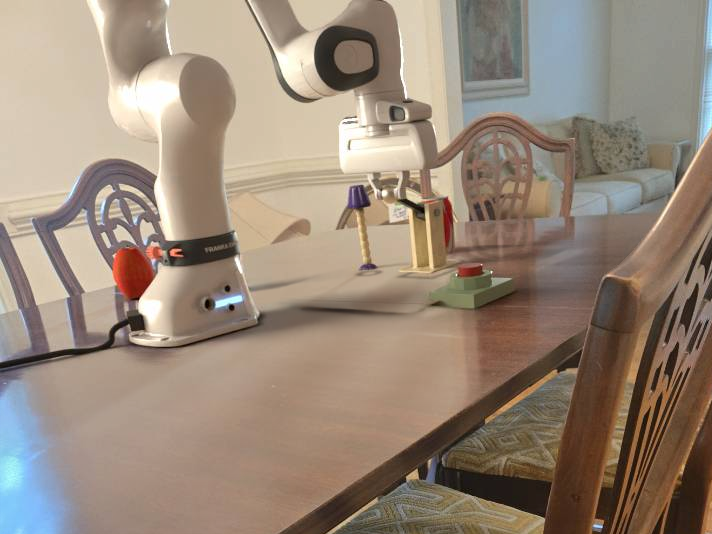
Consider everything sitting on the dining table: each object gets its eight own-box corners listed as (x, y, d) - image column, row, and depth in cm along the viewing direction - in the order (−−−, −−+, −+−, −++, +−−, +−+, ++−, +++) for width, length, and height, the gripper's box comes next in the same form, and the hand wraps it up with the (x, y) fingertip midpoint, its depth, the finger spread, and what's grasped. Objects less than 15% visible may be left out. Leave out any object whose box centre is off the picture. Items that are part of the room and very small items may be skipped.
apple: (129, 304, 157) (114, 248, 151) (113, 300, 162) (98, 247, 157) (166, 295, 161) (152, 241, 156) (149, 291, 167) (136, 239, 161)
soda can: (421, 261, 165) (415, 200, 159) (425, 255, 171) (420, 197, 165) (453, 258, 163) (449, 197, 157) (457, 253, 169) (453, 193, 163)
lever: (390, 200, 137) (393, 181, 136) (376, 200, 139) (379, 182, 138) (435, 223, 148) (437, 206, 148) (421, 223, 150) (424, 206, 150)
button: (474, 279, 124) (473, 268, 124) (453, 278, 127) (453, 267, 126) (487, 274, 127) (487, 263, 126) (467, 273, 129) (466, 262, 128)
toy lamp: (353, 276, 158) (341, 187, 150) (361, 271, 162) (349, 184, 154) (375, 274, 157) (364, 185, 148) (382, 270, 160) (372, 182, 152)
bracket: (431, 278, 148) (425, 206, 141) (399, 276, 152) (392, 207, 146) (461, 267, 154) (456, 198, 148) (429, 266, 159) (423, 199, 152)
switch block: (474, 308, 122) (473, 283, 120) (429, 305, 127) (427, 280, 125) (513, 291, 130) (513, 267, 128) (469, 289, 135) (468, 265, 133)
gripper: (326, 119, 137) (337, 203, 143) (417, 108, 125) (424, 200, 131) (349, 116, 141) (359, 198, 147) (439, 105, 129) (446, 195, 136)
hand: (391, 199), depth 139 cm, fingers closed on lever, 3 cm apart
